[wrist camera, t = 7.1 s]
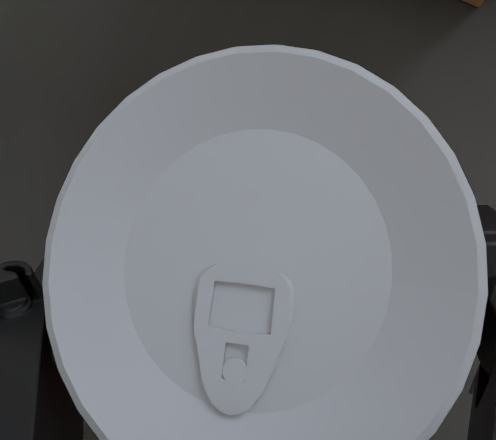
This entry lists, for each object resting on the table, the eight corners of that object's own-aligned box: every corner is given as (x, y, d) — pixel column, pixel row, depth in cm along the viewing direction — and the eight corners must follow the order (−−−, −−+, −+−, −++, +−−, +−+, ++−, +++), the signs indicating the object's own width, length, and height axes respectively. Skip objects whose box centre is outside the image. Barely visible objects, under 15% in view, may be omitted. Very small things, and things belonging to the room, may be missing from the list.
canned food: (207, 380, 18) (55, 545, 7) (182, 193, 19) (19, 86, 8) (396, 356, 17) (554, 501, 6) (358, 161, 18) (436, -5, 7)
